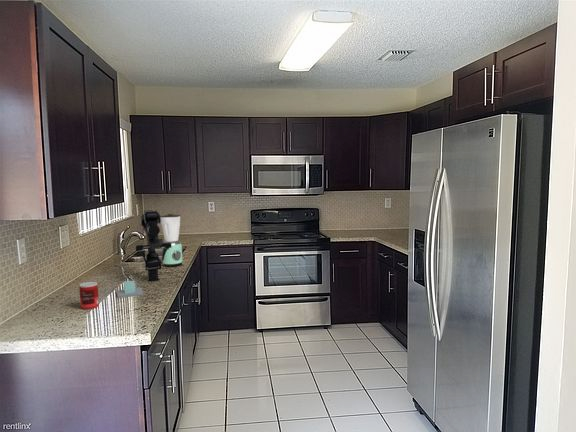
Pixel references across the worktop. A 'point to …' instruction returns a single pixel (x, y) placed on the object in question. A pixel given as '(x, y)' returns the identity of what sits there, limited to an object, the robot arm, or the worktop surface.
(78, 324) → the worktop surface
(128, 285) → the block
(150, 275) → the robot arm
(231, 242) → the worktop surface
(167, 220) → the blender
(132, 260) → the worktop surface
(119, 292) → the pad
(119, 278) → the worktop surface
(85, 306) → the canned food
